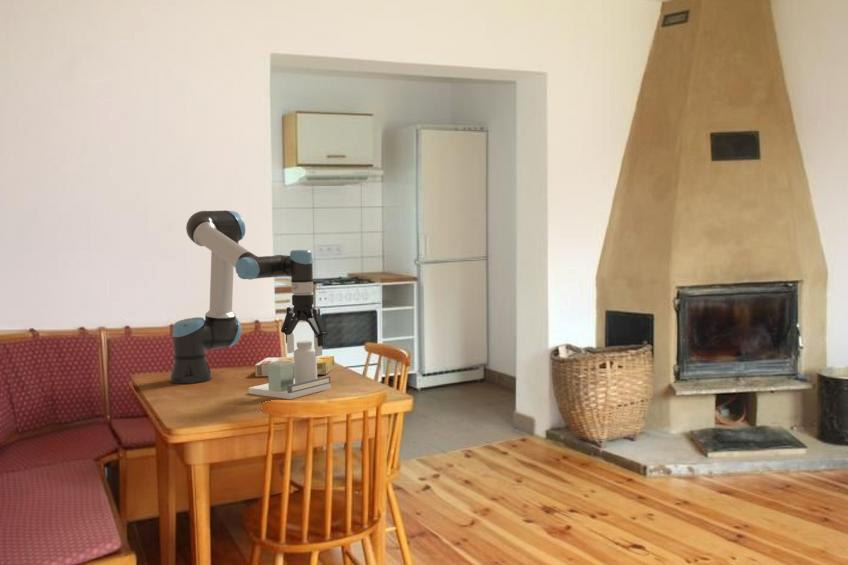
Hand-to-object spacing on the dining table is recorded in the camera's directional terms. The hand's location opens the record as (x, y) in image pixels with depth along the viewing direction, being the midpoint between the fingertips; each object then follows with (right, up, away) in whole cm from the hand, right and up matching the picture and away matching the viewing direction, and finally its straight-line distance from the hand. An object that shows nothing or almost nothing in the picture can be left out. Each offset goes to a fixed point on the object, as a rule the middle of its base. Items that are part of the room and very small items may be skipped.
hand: (304, 354), depth 290 cm
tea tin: (-7, -11, -8) cm, 15 cm away
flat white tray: (-5, -13, -2) cm, 14 cm away
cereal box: (-9, -11, +38) cm, 41 cm away
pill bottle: (0, -11, +1) cm, 11 cm away
